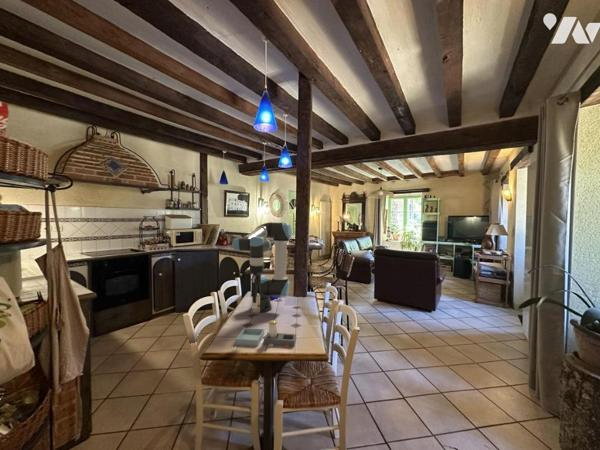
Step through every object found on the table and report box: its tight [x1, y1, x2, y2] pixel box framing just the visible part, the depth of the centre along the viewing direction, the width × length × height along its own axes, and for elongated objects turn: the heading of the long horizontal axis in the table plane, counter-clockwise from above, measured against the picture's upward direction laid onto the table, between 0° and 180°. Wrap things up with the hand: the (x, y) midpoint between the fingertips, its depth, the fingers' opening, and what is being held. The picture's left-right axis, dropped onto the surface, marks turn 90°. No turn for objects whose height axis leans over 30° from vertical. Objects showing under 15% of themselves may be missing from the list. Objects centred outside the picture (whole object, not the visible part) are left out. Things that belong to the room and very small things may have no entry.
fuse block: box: [263, 331, 297, 348], centre depth 139 cm, size 9×16×3 cm, turn 84°
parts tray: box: [235, 327, 265, 347], centre depth 142 cm, size 14×12×3 cm
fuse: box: [268, 319, 278, 339], centre depth 140 cm, size 4×4×10 cm
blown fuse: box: [251, 293, 261, 315], centre depth 142 cm, size 4×4×10 cm
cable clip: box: [270, 296, 280, 301], centre depth 218 cm, size 12×4×6 cm, turn 142°
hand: (255, 306), depth 142 cm, fingers closed on blown fuse, 4 cm apart
